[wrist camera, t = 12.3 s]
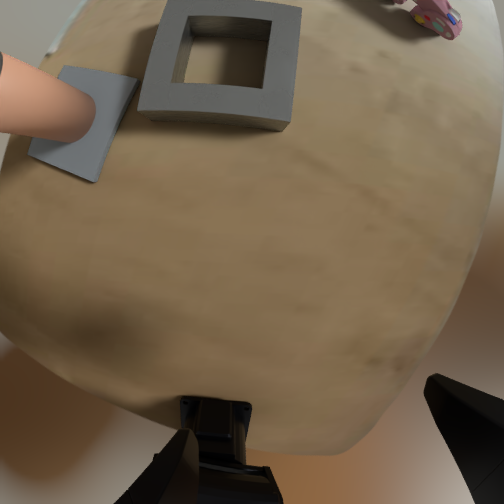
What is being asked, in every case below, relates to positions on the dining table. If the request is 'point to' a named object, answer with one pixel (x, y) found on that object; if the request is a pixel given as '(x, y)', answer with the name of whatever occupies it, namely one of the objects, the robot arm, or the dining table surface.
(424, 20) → the video game controller
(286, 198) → the dining table surface
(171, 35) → the eye block
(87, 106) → the pin
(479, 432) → the robot arm
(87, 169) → the mat
